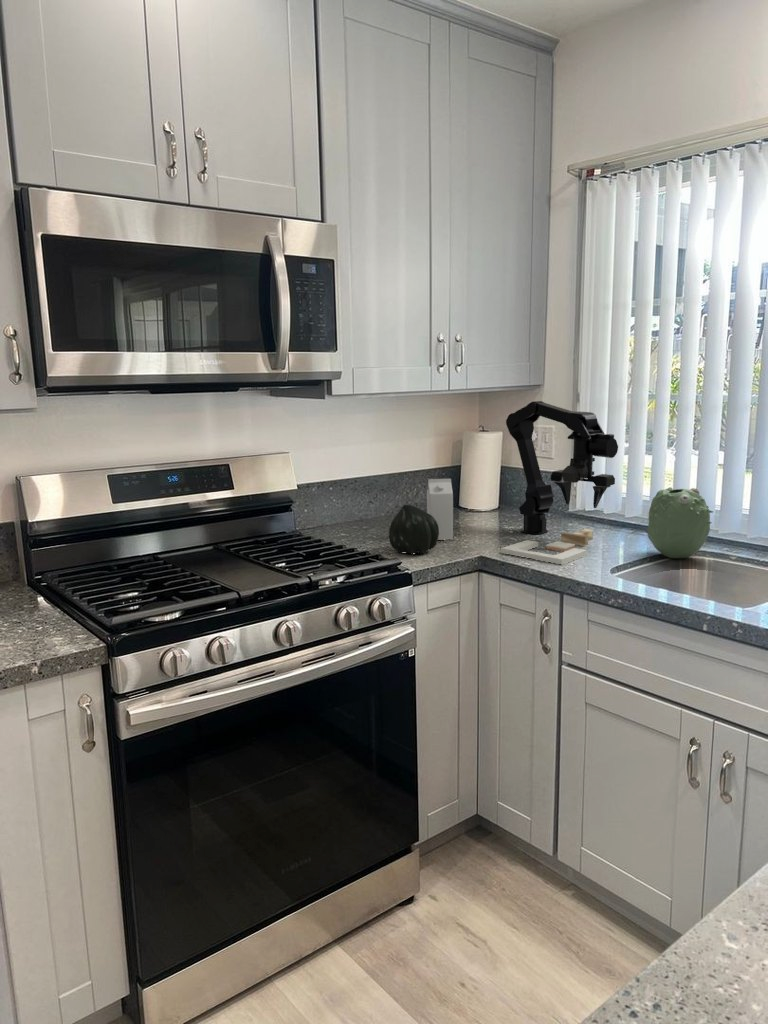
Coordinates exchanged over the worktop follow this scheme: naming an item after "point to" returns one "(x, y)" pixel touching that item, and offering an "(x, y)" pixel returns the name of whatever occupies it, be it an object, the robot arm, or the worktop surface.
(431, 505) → the milk carton
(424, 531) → the squash
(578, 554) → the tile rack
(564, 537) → the wooden pusher
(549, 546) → the pale beige block
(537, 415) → the robot arm
